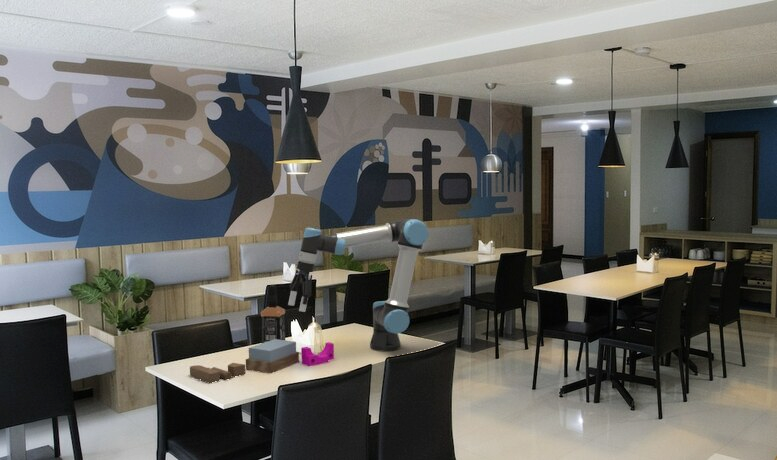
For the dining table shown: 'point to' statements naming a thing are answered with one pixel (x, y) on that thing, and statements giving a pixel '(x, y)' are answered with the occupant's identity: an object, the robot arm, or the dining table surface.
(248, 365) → the tower base slab
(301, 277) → the robot arm
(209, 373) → the wooden block set
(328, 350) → the toy block
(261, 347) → the tower cap slab
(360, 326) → the dining table surface
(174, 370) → the dining table surface
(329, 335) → the dining table surface
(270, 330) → the whiskey bottle
